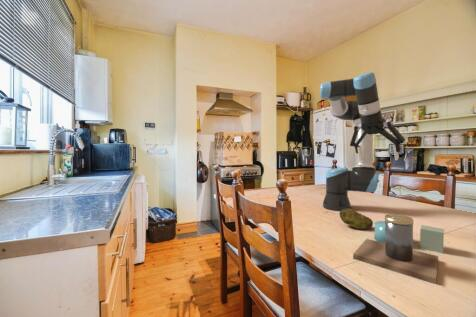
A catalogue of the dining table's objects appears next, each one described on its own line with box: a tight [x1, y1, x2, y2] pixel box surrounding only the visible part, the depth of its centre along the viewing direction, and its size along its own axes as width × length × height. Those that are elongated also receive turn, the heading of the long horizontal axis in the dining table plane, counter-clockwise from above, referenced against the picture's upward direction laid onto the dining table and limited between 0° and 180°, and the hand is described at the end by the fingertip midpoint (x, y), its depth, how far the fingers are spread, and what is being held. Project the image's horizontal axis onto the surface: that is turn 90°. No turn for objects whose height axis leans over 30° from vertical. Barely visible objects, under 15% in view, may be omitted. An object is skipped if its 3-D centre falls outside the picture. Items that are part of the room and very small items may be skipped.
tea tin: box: [384, 213, 414, 262], centre depth 70 cm, size 7×7×12 cm
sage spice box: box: [419, 224, 445, 254], centre depth 78 cm, size 6×5×7 cm
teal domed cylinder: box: [374, 220, 385, 243], centre depth 85 cm, size 10×10×6 cm
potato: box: [338, 208, 374, 230], centre depth 99 cm, size 8×13×8 cm, turn 52°
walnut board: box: [352, 238, 439, 285], centre depth 71 cm, size 20×16×2 cm
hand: (378, 159), depth 97 cm, fingers open, 13 cm apart
